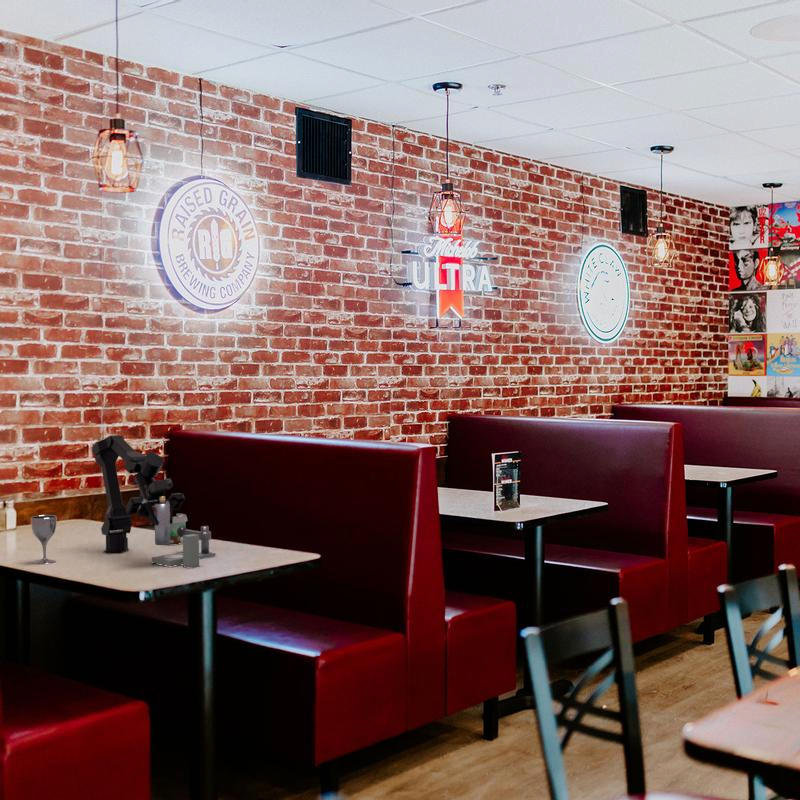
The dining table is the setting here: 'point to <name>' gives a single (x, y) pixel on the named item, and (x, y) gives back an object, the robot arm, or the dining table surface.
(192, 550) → the press
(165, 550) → the dining table surface
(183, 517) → the food container
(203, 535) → the lever
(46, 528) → the wine glass
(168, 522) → the grey bottle
